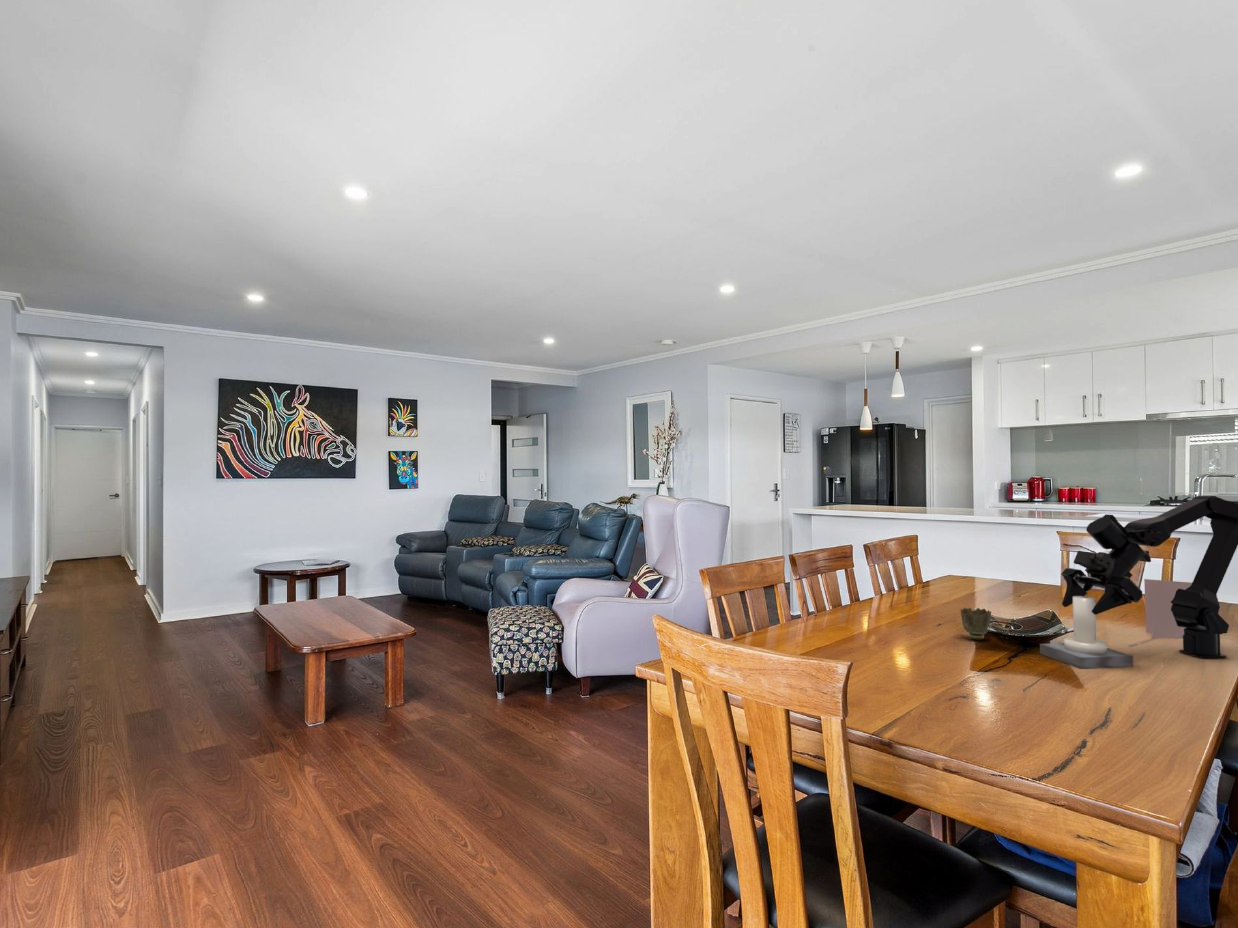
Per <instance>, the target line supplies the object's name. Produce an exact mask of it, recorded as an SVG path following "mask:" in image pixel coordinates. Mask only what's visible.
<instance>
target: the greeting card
mask: <svg viewBox="0 0 1238 928" xmlns="http://www.w3.org/2000/svg"><path fill="white" fill-rule="evenodd" d="M1191 584H1192V582H1190V581H1187V582H1186V581H1176V580H1161V579H1150V578H1148V579H1147V578H1144V609H1145V611H1144V612H1145V614H1144V615H1145V633H1146V634H1148V633H1149V634H1152V638H1153V637H1154V638H1153V639H1183V635H1184V628H1185V627H1179V626H1177V623H1176V621H1175V618H1174V616H1173V613H1172V612H1171V606H1172V604H1173V603H1170V602H1171V601H1172V600H1173V599H1174V596H1175V593H1176V591H1177V590H1178V589H1184V590H1186V589H1187V588H1188V587H1190V586H1191Z"/></svg>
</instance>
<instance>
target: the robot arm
mask: <svg viewBox="0 0 1238 928" xmlns="http://www.w3.org/2000/svg"><path fill="white" fill-rule="evenodd" d="M1204 517H1205V518H1207V519H1209V520H1210V524H1209V525H1210V527H1211V528H1210V529H1211V531H1212V534H1213V535H1212V537H1211V539H1210V542H1209V544H1208V546H1207V548H1206V551H1205V553H1204V555H1203V558H1202V559H1201V562H1200V565H1199V567H1198V569H1197V571H1196V573H1195V576H1194V577H1193V580H1192V582H1191V583H1192V584H1191V586H1190V587H1188V588H1187V589H1186V590H1184V589H1178V590H1177V591H1176V593H1175V596H1174V599H1173V600H1172V601H1171V602H1170V603H1173V604H1172V606H1171V612H1172V613H1173V616H1174V618H1175V621H1176V623H1177V626H1179V627H1185V628H1184V635H1183V638H1182V649H1178V652H1179V653H1182V654H1186V655H1190V656H1192V657H1197V658H1200V659H1222V658H1223V659H1226V658H1227V655H1226V654H1223V653H1222V654H1221V635H1223V634H1227V633H1228V631H1229V627H1230V625H1229V623H1228V622H1227V621H1226V620H1225V619H1224V618H1223V617H1222V616H1221V615H1220V614H1219V612H1220V602H1219V598H1218V595H1217V594H1218V591H1219V589H1220V587H1221V585H1222V583H1223V580H1224V578H1225V575H1226V573H1227V570H1228V568H1229V566H1230V564H1231V562H1232V559H1233V557H1234V555H1235V553H1236V551H1237V549H1238V502H1234V501H1230V500H1226V499H1223V498H1220V497H1218V496H1216V495H1197V496H1194V497H1193V498H1192V499H1191V500H1189V501H1186V502H1183V503H1182V504H1180V505H1178V506H1176V507H1174V508H1172V509H1169V510H1168V511H1165V512H1163V513H1161V514H1159V515H1157V516H1153V517H1147V518H1141V519H1137V520H1133V521H1130V522H1128V523H1127V524H1125V526H1123V525H1122V524H1121V523H1120V522H1119V521H1118V518H1116V517H1115V516H1114V515H1113V514H1104V516H1103V517H1100V518H1097V519H1095V520H1093V521H1092V522H1091V521H1090V523H1089V524H1088V525H1087V526H1086V529H1085V530H1086V532H1087V533H1088V534H1089V535H1090V536H1091V537H1092V539H1094V541H1096V542H1097V544H1098V545H1100V547H1101V548H1102V549H1105V550H1110V551H1109V552H1108V553H1107V552H1104V551H1103V552H1102V551H1099V552H1098V553H1097V552H1096V553H1095V552H1089V551H1083V550H1082V551H1081V550H1077V551H1076V555H1075V557H1074V560H1073V564H1075V565H1078V566H1081V567H1083V568H1085V571H1083V570H1081V569H1078V568H1072V567H1066V568H1065V569H1064V570H1062V572H1061V574H1060V575H1061V576H1062V577H1063V580H1064V581H1065V582H1066V588H1065V589H1066V590H1065V593H1064V596H1063V599H1062V603H1061V605H1062V606H1063V607H1064V608H1067V607H1069V606H1072V605H1073V596H1086V595H1088V594H1089V593H1088V592H1089V591H1091V590H1092V588H1093V587H1096V588H1097V587H1098V588H1101V589H1104V592H1103V594H1102V595H1101V597H1100V598H1099V599H1098V601H1097V602H1096V603H1095V604H1096V605H1095V606H1094V608H1093V610H1092V613H1093V614H1095V615H1096V616H1097V615H1098V614H1099V615H1100V614H1101V613H1104V612H1107V611H1109V610H1111V609H1115V608H1118V607H1121V606H1125V605H1127V604H1129V605H1131V604H1132V603H1139V601H1141V599H1142V598H1143V590H1142V589H1141V588H1140V587H1139V586H1138V585H1137V584H1136V583H1135V582H1134V581H1133V580H1132V579H1131V578H1132V576H1133V574H1132V572H1131V571H1132V570H1133V569H1134V567H1135V566H1136V565H1137V564H1138V563H1139V562H1144V563H1151V562H1152V558H1151V555H1150V551H1149V550H1145V549H1143V548H1142V547H1141V546H1144V547H1152V548H1156V547H1159V546H1161V545H1162V544H1163V543H1165V542H1166V541H1168V540H1169V539H1170V538H1171V536H1172V533H1174V532H1175V531H1177V530H1179V529H1181V528H1184V527H1185V526H1187V525H1189V524H1192V523H1194V522H1195V521H1197V520H1200V519H1202V518H1204ZM1084 572H1086V573H1087V574H1089V576H1087V574H1085V573H1084Z"/></svg>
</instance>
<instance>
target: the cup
mask: <svg viewBox="0 0 1238 928" xmlns="http://www.w3.org/2000/svg"><path fill="white" fill-rule="evenodd" d="M960 616H961V623H962V626H963V629H964V630H965V632H967V633H968V638H969V639H970V638H971V639H970V640H972V639H976V640H975V641H983V640H984V639H985V634H987V633H988V631H989V630H988V631H987V628H988V627H989V626H990V625H991V617H992V611H991V610H990V609H988V610H987V609H985V608H981V609H980V608H979V607H977V608H976V610H972V608H971V607H968V608H966V607H963V609H962V608H961V609H960ZM990 627H991V626H990ZM990 627H989V628H990ZM982 639H983V640H982Z"/></svg>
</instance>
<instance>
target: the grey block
mask: <svg viewBox="0 0 1238 928" xmlns="http://www.w3.org/2000/svg"><path fill="white" fill-rule="evenodd" d="M1039 653H1040V655H1042V656H1044V657H1045V656H1046V657H1048V658H1051V659H1052V660H1055V661H1059V662H1062V663H1064V664H1067V665H1070V666H1072V667H1076V668H1079V669H1104V668H1105V669H1107V668H1124V667H1125V668H1126V667H1127V668H1128V667H1129V666H1132V667H1134V657H1133V655H1132V654H1129V653H1125V652H1122V651H1119V650H1115V649H1113V648H1110V647H1107V653H1105V654H1086V653H1079V652H1074V651H1070V650H1067V649H1065V648H1064V642H1059V643H1058V642H1057V643H1056V642H1055V643H1040V644H1039Z"/></svg>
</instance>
